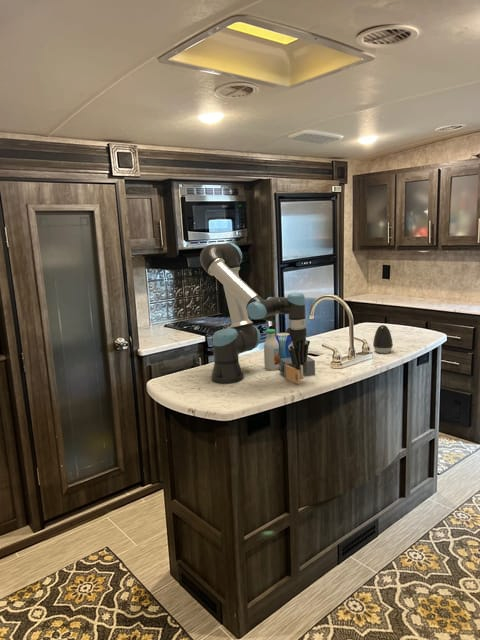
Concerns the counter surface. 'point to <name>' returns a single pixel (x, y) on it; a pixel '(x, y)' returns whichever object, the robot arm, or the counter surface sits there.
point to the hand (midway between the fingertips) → (300, 378)
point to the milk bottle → (271, 351)
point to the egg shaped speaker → (383, 340)
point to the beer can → (283, 344)
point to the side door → (291, 373)
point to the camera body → (308, 367)
